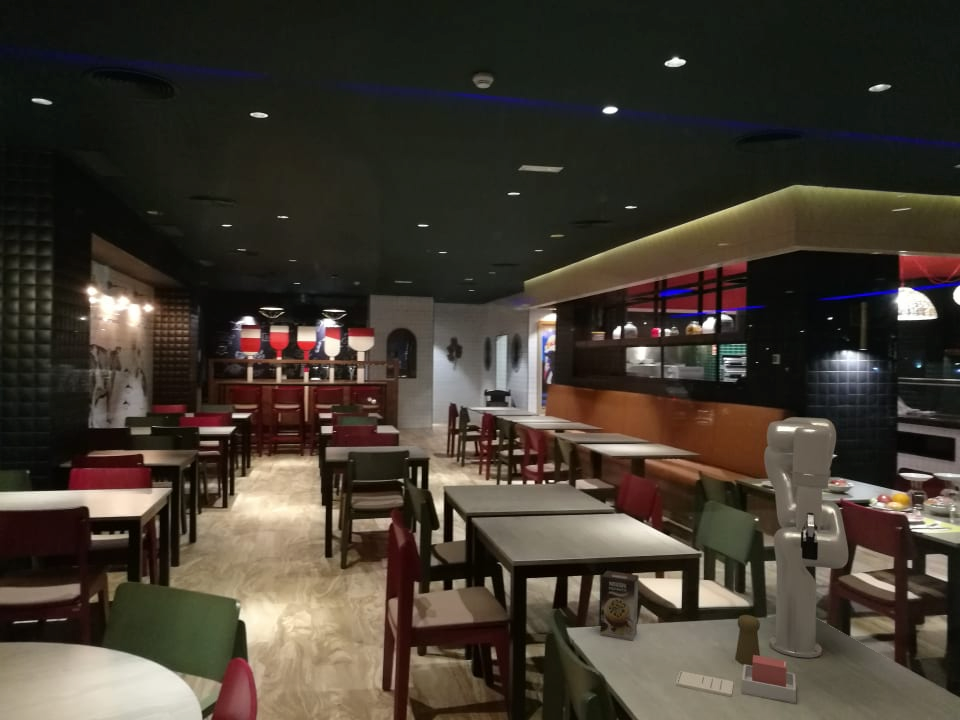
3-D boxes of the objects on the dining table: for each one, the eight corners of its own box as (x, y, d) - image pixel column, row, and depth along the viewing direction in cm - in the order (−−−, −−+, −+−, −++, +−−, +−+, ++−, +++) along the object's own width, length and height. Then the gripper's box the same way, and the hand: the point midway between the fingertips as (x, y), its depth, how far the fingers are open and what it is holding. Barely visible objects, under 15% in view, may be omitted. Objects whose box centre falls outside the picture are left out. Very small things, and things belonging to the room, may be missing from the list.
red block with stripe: (752, 680, 159) (753, 654, 159) (785, 687, 156) (786, 660, 156) (751, 688, 155) (752, 661, 155) (785, 695, 152) (786, 667, 152)
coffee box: (599, 635, 185) (600, 575, 185) (604, 627, 191) (605, 569, 191) (633, 641, 182) (634, 580, 182) (637, 633, 188) (638, 574, 188)
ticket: (679, 673, 163) (680, 670, 163) (733, 683, 158) (733, 681, 158) (675, 685, 157) (675, 682, 157) (731, 696, 152) (731, 693, 152)
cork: (763, 667, 168) (764, 622, 168) (737, 664, 169) (738, 619, 169) (758, 657, 174) (759, 613, 174) (733, 654, 175) (734, 611, 175)
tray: (743, 677, 162) (744, 664, 162) (794, 686, 158) (795, 673, 158) (741, 693, 154) (742, 679, 154) (795, 703, 149) (795, 690, 149)
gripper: (792, 474, 169) (790, 543, 169) (793, 484, 153) (791, 561, 153) (826, 476, 166) (824, 547, 166) (830, 487, 150) (829, 565, 150)
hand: (808, 554), depth 159 cm, fingers open, 9 cm apart
